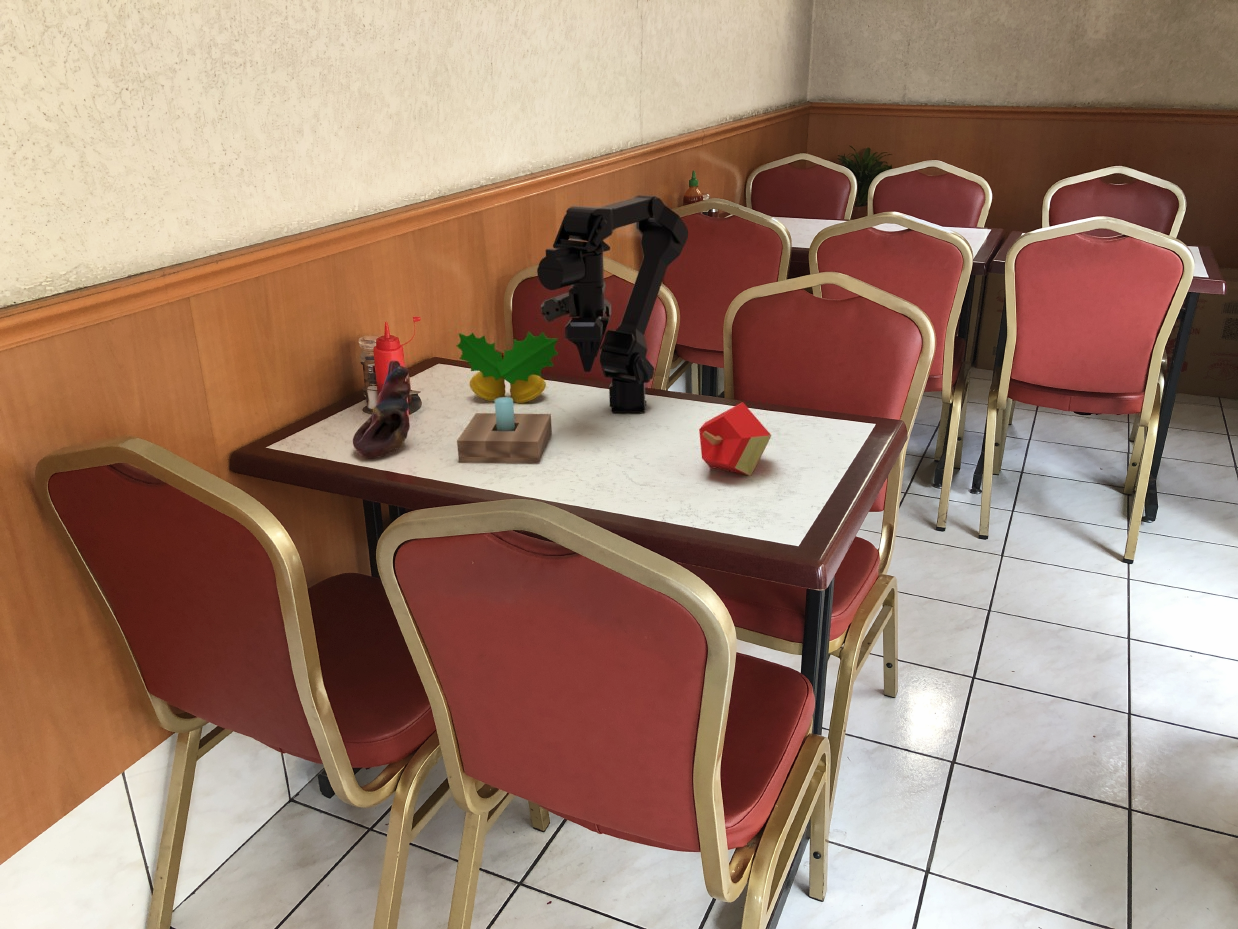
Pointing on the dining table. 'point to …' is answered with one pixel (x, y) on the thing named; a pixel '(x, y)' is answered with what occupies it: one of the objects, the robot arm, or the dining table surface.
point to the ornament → (508, 366)
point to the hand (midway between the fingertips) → (590, 364)
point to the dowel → (504, 414)
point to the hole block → (505, 439)
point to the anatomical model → (386, 417)
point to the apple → (734, 440)
